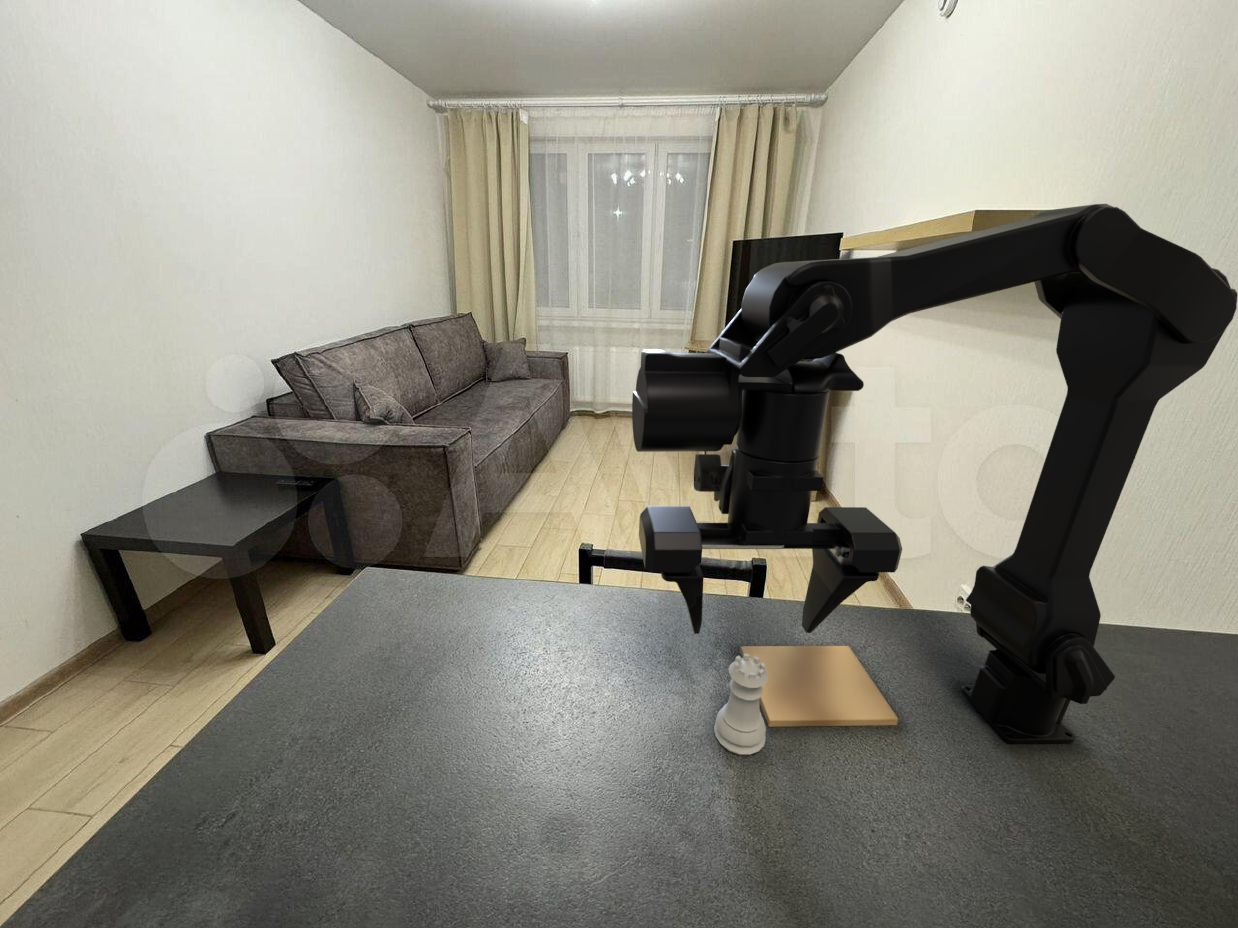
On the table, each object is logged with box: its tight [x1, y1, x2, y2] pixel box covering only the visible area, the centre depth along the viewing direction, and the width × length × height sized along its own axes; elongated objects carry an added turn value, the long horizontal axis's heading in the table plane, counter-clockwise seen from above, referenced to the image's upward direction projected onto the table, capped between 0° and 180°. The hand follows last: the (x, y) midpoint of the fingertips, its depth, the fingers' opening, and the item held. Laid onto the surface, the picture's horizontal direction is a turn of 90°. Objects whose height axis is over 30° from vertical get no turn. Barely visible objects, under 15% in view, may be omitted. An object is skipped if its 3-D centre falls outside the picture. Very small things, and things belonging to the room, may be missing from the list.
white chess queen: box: [713, 654, 768, 756], centre depth 45 cm, size 4×4×8 cm
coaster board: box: [739, 645, 899, 728], centre depth 52 cm, size 12×10×1 cm
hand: (751, 629), depth 43 cm, fingers open, 9 cm apart
